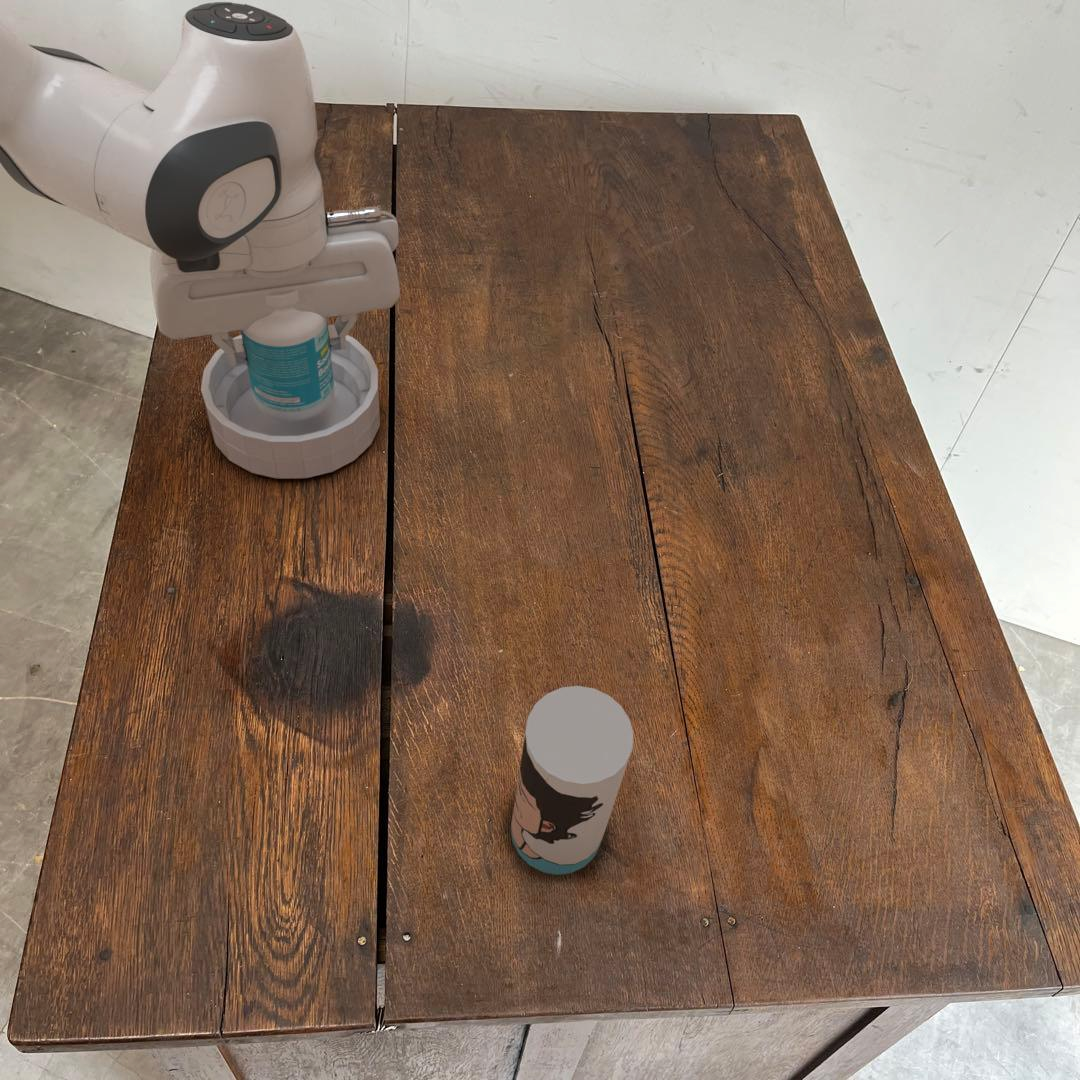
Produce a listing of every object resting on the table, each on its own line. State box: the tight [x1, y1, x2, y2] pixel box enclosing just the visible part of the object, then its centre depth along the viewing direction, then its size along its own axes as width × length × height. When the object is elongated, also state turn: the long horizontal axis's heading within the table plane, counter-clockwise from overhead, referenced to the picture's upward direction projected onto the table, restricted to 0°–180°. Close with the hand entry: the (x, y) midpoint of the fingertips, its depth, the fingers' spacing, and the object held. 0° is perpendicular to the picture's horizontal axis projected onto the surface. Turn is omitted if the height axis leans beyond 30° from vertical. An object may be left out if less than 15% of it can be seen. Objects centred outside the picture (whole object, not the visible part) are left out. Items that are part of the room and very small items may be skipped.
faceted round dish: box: [200, 334, 381, 480], centre depth 96 cm, size 16×16×6 cm
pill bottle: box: [240, 291, 334, 422], centre depth 91 cm, size 8×7×14 cm
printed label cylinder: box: [510, 685, 634, 876], centre depth 70 cm, size 7×7×15 cm
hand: (287, 353), depth 92 cm, fingers closed on pill bottle, 7 cm apart
